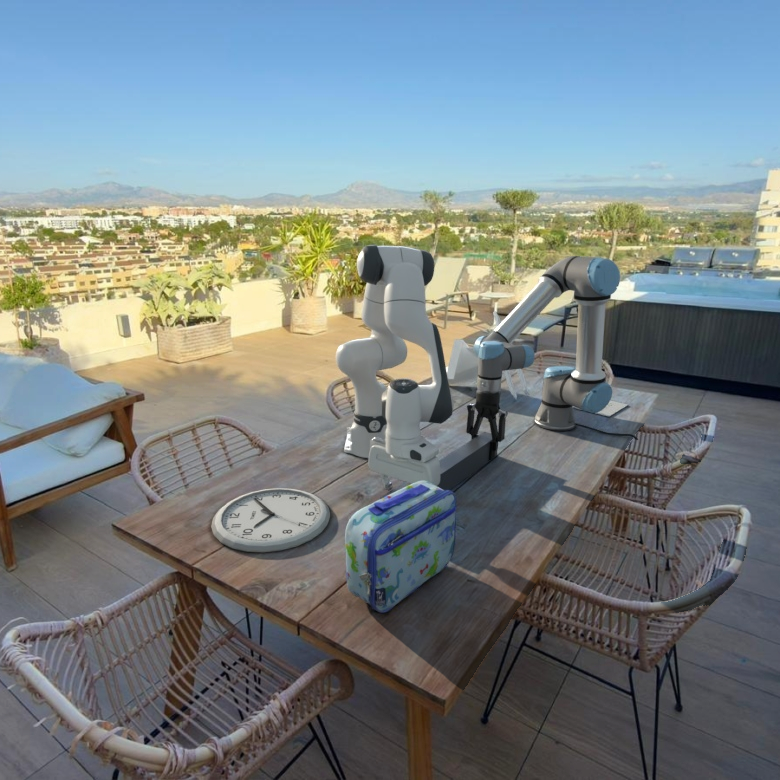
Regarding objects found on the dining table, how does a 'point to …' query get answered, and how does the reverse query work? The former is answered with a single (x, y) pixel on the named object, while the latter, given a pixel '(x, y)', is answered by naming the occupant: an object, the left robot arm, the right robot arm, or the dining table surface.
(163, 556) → the dining table surface
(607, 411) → the invitation card
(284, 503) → the wall clock
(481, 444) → the post
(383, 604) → the lunch box
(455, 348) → the white plastic object
